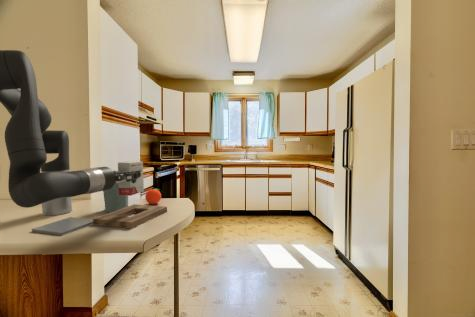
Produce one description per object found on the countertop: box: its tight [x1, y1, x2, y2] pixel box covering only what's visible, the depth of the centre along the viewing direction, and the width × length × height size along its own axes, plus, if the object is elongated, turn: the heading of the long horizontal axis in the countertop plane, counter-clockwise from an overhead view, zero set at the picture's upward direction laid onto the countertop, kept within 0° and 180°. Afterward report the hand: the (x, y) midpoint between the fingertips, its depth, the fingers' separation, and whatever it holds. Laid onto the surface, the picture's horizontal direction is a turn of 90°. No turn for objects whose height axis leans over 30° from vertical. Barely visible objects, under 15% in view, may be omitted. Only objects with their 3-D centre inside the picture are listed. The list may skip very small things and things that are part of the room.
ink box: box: [117, 160, 145, 197], centre depth 90 cm, size 9×5×12 cm, turn 168°
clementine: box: [144, 188, 162, 205], centre depth 111 cm, size 8×7×7 cm
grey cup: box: [102, 183, 129, 213], centre depth 102 cm, size 10×10×12 cm
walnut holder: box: [92, 203, 168, 229], centre depth 90 cm, size 16×20×2 cm
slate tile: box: [31, 216, 94, 236], centre depth 81 cm, size 13×13×1 cm
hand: (133, 173), depth 91 cm, fingers closed on ink box, 5 cm apart
